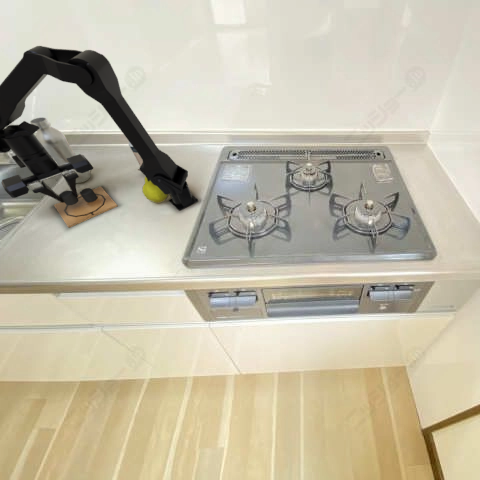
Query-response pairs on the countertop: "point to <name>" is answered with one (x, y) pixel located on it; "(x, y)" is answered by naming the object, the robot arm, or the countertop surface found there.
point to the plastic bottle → (56, 145)
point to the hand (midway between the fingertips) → (70, 199)
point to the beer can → (136, 154)
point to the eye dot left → (68, 197)
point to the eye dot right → (88, 195)
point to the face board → (85, 208)
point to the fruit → (153, 192)
